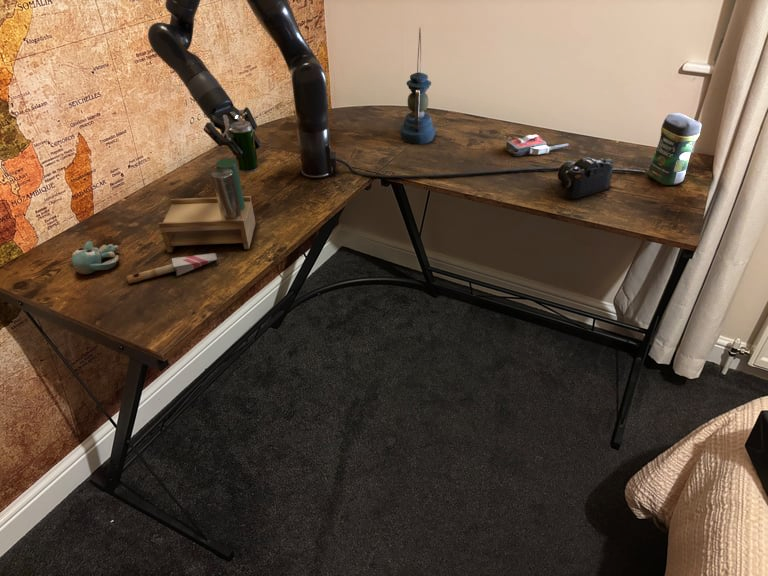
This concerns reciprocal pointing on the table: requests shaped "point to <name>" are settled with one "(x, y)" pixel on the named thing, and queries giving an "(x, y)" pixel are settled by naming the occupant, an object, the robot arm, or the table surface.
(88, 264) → the stuffed animal
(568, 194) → the film camera
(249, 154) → the beer can
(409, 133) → the lantern
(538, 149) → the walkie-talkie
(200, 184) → the table surface
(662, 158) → the coffee jar
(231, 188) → the tray
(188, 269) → the paintbrush
